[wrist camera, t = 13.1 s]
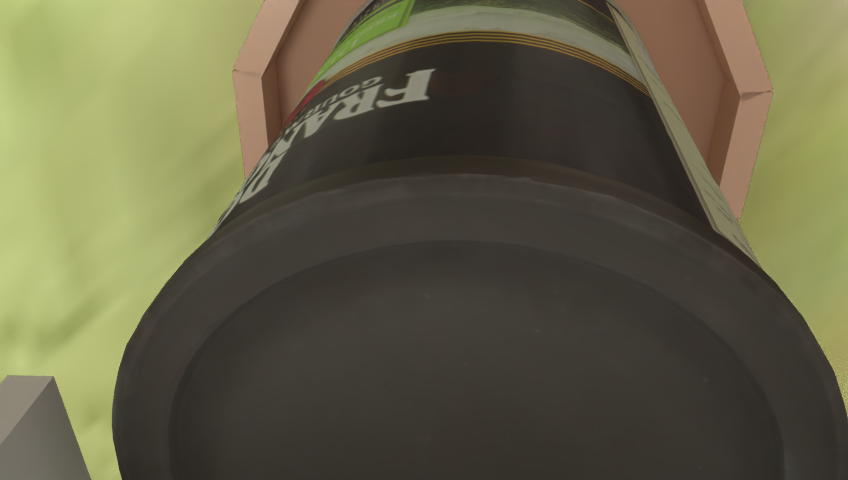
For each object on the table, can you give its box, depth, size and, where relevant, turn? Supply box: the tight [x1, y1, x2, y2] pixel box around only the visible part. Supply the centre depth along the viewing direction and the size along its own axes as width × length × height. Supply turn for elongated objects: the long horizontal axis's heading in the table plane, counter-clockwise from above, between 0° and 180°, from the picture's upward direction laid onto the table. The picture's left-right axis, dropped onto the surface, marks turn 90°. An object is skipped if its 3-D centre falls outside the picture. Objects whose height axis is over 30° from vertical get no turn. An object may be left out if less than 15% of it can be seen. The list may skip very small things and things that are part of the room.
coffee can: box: [112, 0, 848, 480], centre depth 17 cm, size 10×10×14 cm
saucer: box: [232, 0, 773, 222], centre depth 22 cm, size 15×15×2 cm
